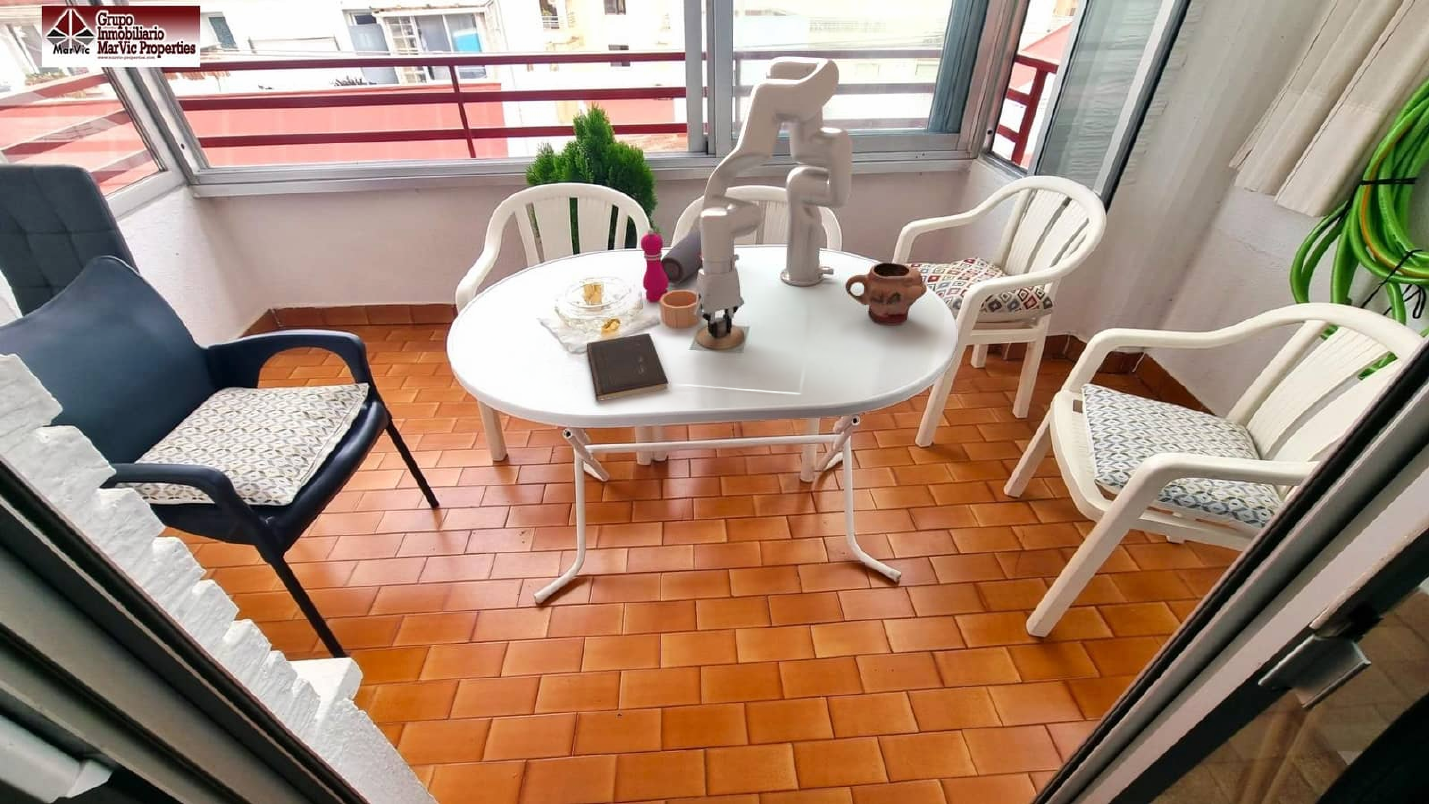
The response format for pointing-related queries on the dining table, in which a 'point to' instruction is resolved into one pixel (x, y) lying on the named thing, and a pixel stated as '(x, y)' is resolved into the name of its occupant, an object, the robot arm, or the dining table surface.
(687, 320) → the bowl
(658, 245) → the pepper mill
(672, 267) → the bluetooth speaker
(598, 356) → the hardcover book
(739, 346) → the mat
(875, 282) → the terracotta clay mug
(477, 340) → the dining table surface
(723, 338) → the lid
